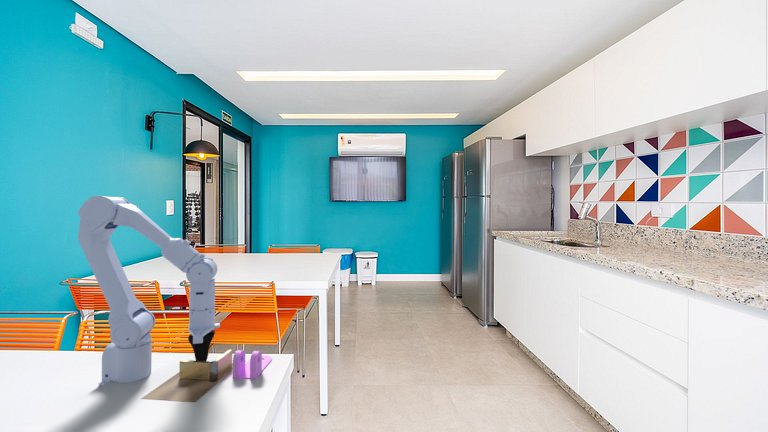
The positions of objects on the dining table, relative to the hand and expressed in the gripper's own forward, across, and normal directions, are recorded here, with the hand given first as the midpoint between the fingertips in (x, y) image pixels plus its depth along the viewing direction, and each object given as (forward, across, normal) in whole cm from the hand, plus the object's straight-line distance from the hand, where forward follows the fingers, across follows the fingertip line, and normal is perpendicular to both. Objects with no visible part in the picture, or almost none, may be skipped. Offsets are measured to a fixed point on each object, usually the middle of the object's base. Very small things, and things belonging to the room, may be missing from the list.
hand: (201, 362), depth 90 cm
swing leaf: (+2, -5, +1) cm, 5 cm away
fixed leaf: (+2, -4, -5) cm, 6 cm away
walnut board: (+3, -5, +1) cm, 6 cm away
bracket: (+3, -2, -13) cm, 13 cm away
